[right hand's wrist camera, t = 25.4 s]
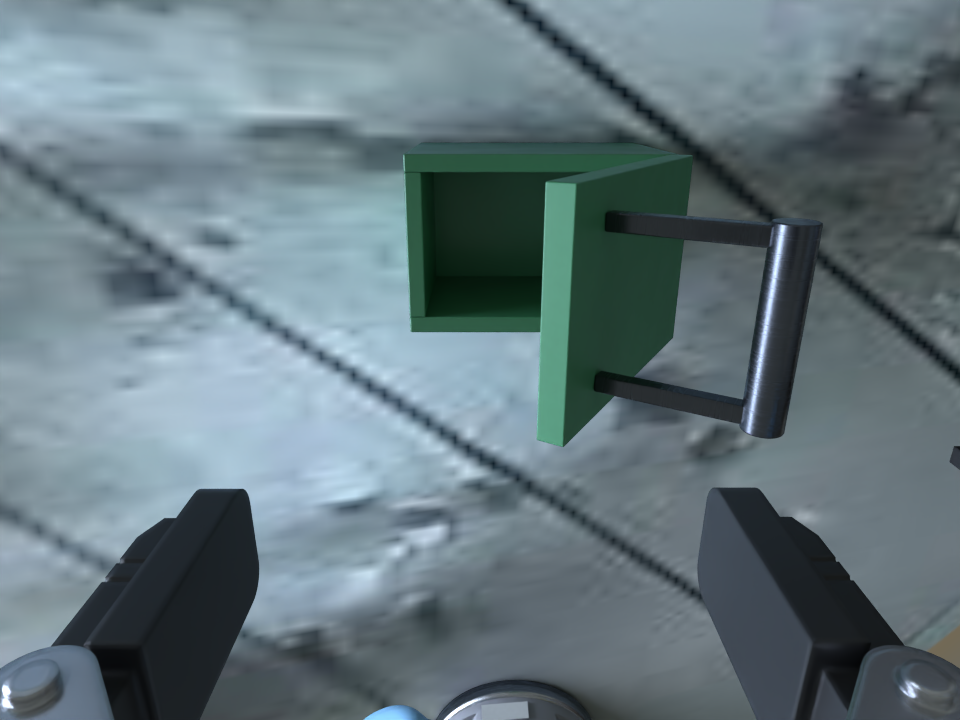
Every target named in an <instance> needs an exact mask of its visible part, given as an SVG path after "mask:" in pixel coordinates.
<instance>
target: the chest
mask: <svg viewBox="0 0 960 720" xmlns="http://www.w3.org/2000/svg"><path fill="white" fill-rule="evenodd" d="M667 155H678V154H675V153H671V152H667V151H663V150H659V149H656V148H652V147H648V146H644V145H640V144H636V143H420V144H419V145H417V146H416V147H414V148H413V149H411V150H410V151H408V152H406V153H405V154H404V155H403V162H404V172H405V173H404V187H405V212H406V237H407V261H408V286H409V311H410V331H411V332H540V331H541V302H542V274H543V245H544V217H545V188H546V182H547V181H550V180H555V179H560V178H564V177H569V176H574V175H578V174H583V173H588V172H592V171H597V170H602V169H606V168H611V167H616V166H620V165H625V164H630V163H634V162H639V161H644V160H648V159H653V158H658V157H662V156H667Z"/></svg>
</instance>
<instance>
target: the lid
mask: <svg viewBox="0 0 960 720" xmlns="http://www.w3.org/2000/svg"><path fill="white" fill-rule="evenodd" d="M692 162H693V156H692V155H667V156H662V157H658V158H653V159H648V160H644V161H639V162H634V163H630V164H625V165H620V166H616V167H611V168H606V169H602V170H597V171H592V172H588V173H583V174H578V175H574V176H569V177H564V178H560V179H555V180H550V181H547V182H546V188H545V217H544V245H543V274H542V302H541V331H540V359H539V388H538V416H537V440H539V441H543V442H547V443H550V444H554V445H558V446H561V447H564V446H565V445H566V444H567V443H568V442H569V441H570V440H571V439H572V438H573V437H574V436H575V435H576V434H577V433H578V432H579V431H580V430H581V429H582V428H583V427H584V426H585V425H586V424H587V423H588V422H589V421H590V420H591V419H592V418H593V417H594V416H595V415H596V414H597V413H598V412H599V411H600V410H601V409H602V408H603V407H604V406H605V405H606V404H607V403H608V402H609V401H610V400H611V399H612V398H613V397H614V396H617V397H622V398H626V399H631V400H635V401H640V402H644V403H649V404H653V405H657V406H662V407H666V408H671V409H675V410H680V411H684V412H689V413H693V414H698V415H702V416H707V417H711V418H716V419H720V420H725V421H729V422H734V423H738V424H739V426H740V428H741V429H742V430H743V431H744V432H745V433H747V434H749V435H752V436H755V437H759V438H767V439H772V438H778V437H781V436H782V435H783V434H784V431H785V426H786V420H787V415H788V410H789V404H790V399H791V394H792V388H793V383H794V378H795V372H796V367H797V362H798V356H799V351H800V346H801V340H802V335H803V330H804V324H805V319H806V314H807V308H808V303H809V298H810V292H811V287H812V282H813V276H814V271H815V266H816V260H817V255H818V250H819V244H820V239H821V234H822V228H823V223H822V222H819V221H816V220H810V219H802V218H777V219H773V220H772V222H771V223H767V222H755V221H742V220H730V219H718V218H705V217H693V216H687V207H688V198H689V189H690V180H691V171H692ZM684 240H694V241H704V242H714V243H724V244H734V245H745V246H755V247H765V248H767V253H766V259H765V266H764V272H763V278H762V285H761V291H760V297H759V303H758V310H757V316H756V322H755V329H754V335H753V341H752V348H751V354H750V360H749V366H748V373H747V379H746V385H745V392H744V398H743V400H742V399H737V398H732V397H728V396H723V395H718V394H713V393H708V392H703V391H698V390H694V389H689V388H684V387H679V386H674V385H669V384H665V383H660V382H655V381H650V380H645V379H640V378H635V377H634V376H635V375H636V374H637V373H638V372H639V371H640V370H641V369H642V368H643V367H644V366H645V365H646V364H647V363H648V362H649V361H650V360H651V359H652V358H653V357H654V356H655V355H656V354H657V353H658V352H659V351H660V350H661V349H662V348H663V347H664V346H665V345H666V344H667V343H668V342H669V341H670V340H671V339H672V338H673V332H674V323H675V314H676V305H677V296H678V287H679V278H680V269H681V260H682V252H683V243H684Z"/></svg>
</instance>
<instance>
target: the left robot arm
mask: <svg viewBox="0 0 960 720" xmlns="http://www.w3.org/2000/svg"><path fill="white" fill-rule="evenodd" d="M950 463H952V464H953V465H954V466H956V467H957V468H958V469H960V446H954V448H953V452H952V455H951V459H950ZM364 720H430V719H427V718H426V717H425V716H423V715H422V714H421V713H420V712H419V711H417V710H416V709H414V708H412V707H409V706H404V705H395V706H390V707H386V708H383V709H381V710H378V711H376V712H374V713H372V714H371V715H369V716H368V717H367V718H365V719H364ZM436 720H591V718H590V716H589V714H588V713H587V711H586V710H585V709H584V708H583V706H582V705H581V704H580V703H579V702H577V701H576V700H575V699H574V698H572V697H571V696H570V695H568V694H566V693H565V692H563V691H561V690H559V689H557V688H554V687H552V686H549V685H546V684H542V683H538V682H532V681H524V680H506V681H497V682H492V683H488V684H484V685H481V686H478V687H475V688H473V689H470V690H468V691H466V692H464V693H463V694H461V695H459V696H458V697H456V698H455V699H454V700H452V701H451V702H450V703H449V704H448V705H447V706H446V707H445V708H444V709H443V710H442V711H441V713H440V714H439V716H438V717H437V719H436Z"/></svg>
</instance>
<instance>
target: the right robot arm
mask: <svg viewBox="0 0 960 720" xmlns="http://www.w3.org/2000/svg"><path fill="white" fill-rule="evenodd" d="M105 578H106V580H105V582H102V583H101V584H100V585H99V586H98V588H97V589H96V590H95V591H94V593H93V594H92V595H91V596H90V598H89V599H88V600H87V601H86V603H85V604H84V605H83V607H82V608H81V609H80V610H79V612H78V613H77V614H76V615H75V617H74V618H73V619H72V620H71V622H70V623H69V624H68V625H67V627H66V628H65V629H64V631H63V632H62V633H61V634H60V636H59V637H58V638H57V639H56V641H55V642H54V643H53V644H52V646H51V647H48V648H44V649H40V650H37V651H34V652H31V653H28V654H26V655H24V656H22V657H19V658H17V659H16V660H14V661H12V662H10V663H8V664H7V665H5V666H4V667H2V668H1V669H0V720H200V718H201V715H202V713H203V711H204V709H205V707H206V704H207V702H208V700H209V698H210V696H211V693H212V691H213V689H214V687H215V685H216V682H217V680H218V678H219V676H220V674H221V671H222V669H223V667H224V665H225V663H226V660H227V658H228V656H229V654H230V652H231V649H232V647H233V645H234V643H235V641H236V639H237V636H238V634H239V632H240V630H241V628H242V625H243V623H244V621H245V619H246V617H247V614H248V612H249V610H250V608H251V606H252V603H253V601H254V599H255V595H256V592H257V587H258V580H259V560H258V554H257V547H256V540H255V533H254V527H253V520H252V513H251V506H250V500H249V496H248V494H247V492H246V491H245V490H244V489H199V490H197V491H196V492H195V493H194V494H193V496H192V497H191V499H190V500H189V501H188V503H187V504H186V505H185V507H184V508H183V509H182V511H181V512H180V513H179V515H178V516H177V518H164V519H163V520H161V521H160V522H158V523H157V524H156V525H154V526H153V527H151V528H150V529H148V530H147V531H145V532H144V533H143V534H141V535H140V536H138V537H137V538H136V540H135V541H134V542H133V543H132V545H131V546H130V547H129V548H128V550H127V551H126V552H125V553H124V555H123V556H122V557H121V558H120V563H117V564H116V565H115V566H114V567H113V569H112V570H111V571H110V572H109V574H108V575H107V576H106V577H105ZM698 581H699V587H700V592H701V595H702V598H703V601H704V603H705V605H706V607H707V610H708V612H709V614H710V616H711V618H712V621H713V623H714V625H715V627H716V630H717V632H718V634H719V636H720V638H721V641H722V643H723V645H724V647H725V650H726V652H727V654H728V656H729V658H730V661H731V663H732V665H733V667H734V670H735V672H736V674H737V676H738V678H739V681H740V683H741V685H742V687H743V690H744V692H745V694H746V696H747V698H748V701H749V703H750V705H751V707H752V710H753V712H754V714H755V716H756V718H757V720H960V669H959V668H958V667H956V666H955V665H953V664H952V663H950V662H948V661H946V660H944V659H943V658H941V657H938V656H936V655H934V654H932V653H929V652H926V651H923V650H920V649H916V648H912V647H908V646H904V644H903V643H902V642H901V640H900V639H899V638H898V637H897V635H896V634H895V633H894V632H893V630H892V629H891V628H890V626H889V625H888V624H887V623H886V621H885V620H884V619H883V617H882V616H881V615H880V614H879V612H878V611H877V610H876V609H875V607H874V606H873V605H872V603H871V602H870V601H869V600H868V598H867V597H866V596H865V595H864V593H863V592H862V591H861V589H860V588H859V587H858V586H857V584H856V583H855V582H854V581H851V580H850V575H849V574H848V573H847V572H846V570H845V569H844V568H843V566H842V565H841V564H840V563H839V562H836V560H835V556H834V555H833V554H832V552H831V551H830V550H829V549H828V547H827V546H826V545H825V543H824V542H823V541H822V540H821V538H820V537H819V536H818V535H817V534H815V533H814V532H812V531H811V530H809V529H808V528H807V527H805V526H804V525H802V524H801V523H799V522H798V521H797V520H795V519H794V518H792V517H780V516H779V515H778V514H777V512H776V511H775V510H774V508H773V507H772V505H771V504H770V503H769V501H768V500H767V499H766V497H765V496H764V494H763V493H762V492H761V491H760V490H759V489H758V488H712V489H711V490H710V492H709V494H708V497H707V502H706V509H705V516H704V523H703V529H702V536H701V543H700V550H699V557H698Z"/></svg>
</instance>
